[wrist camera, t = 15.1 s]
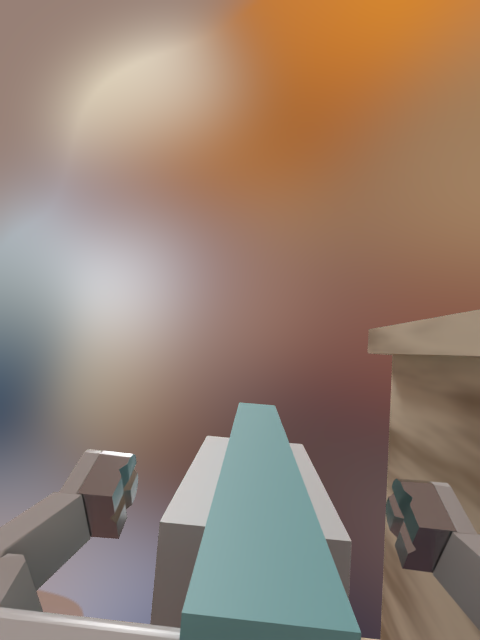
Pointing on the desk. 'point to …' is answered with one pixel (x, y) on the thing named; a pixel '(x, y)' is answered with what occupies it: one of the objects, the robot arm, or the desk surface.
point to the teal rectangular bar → (264, 548)
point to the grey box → (190, 520)
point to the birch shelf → (430, 456)
